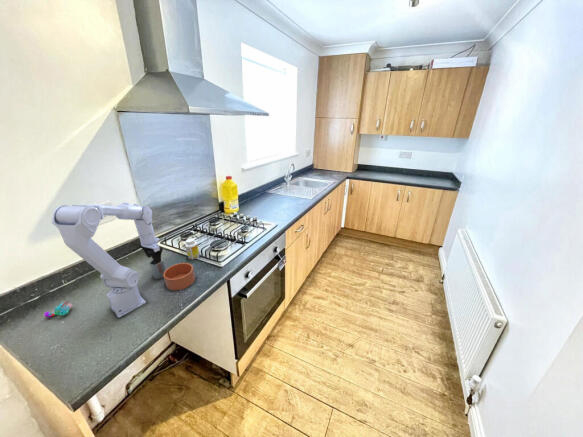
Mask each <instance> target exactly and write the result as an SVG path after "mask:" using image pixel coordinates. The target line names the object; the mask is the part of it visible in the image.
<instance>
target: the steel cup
mask: <svg viewBox="0 0 583 437" xmlns="http://www.w3.org/2000/svg"><path fill="white" fill-rule="evenodd" d="M149 267H150V270H151V273H152V276H153V278H154V279H157V280H159V279H162V278H164V276H163V274H164V271H165V270H166V267H165V264H164V260H163V258H161V262H160V263H158V264H155V262H154V260H153V259H152V260H150V261H149Z"/></svg>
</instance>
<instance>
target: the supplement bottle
mask: <svg viewBox="0 0 583 437" xmlns="http://www.w3.org/2000/svg"><path fill="white" fill-rule="evenodd" d="M184 247H185V251H186V255H187V258H188V260H196V259H198V258H199V257H200V251H199V247H198V242H197V241H195V238H193V237H189V238H187V239H186V240H185V244H184Z"/></svg>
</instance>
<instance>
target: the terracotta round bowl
mask: <svg viewBox="0 0 583 437" xmlns="http://www.w3.org/2000/svg"><path fill="white" fill-rule="evenodd" d="M163 276H164V277H163V280H164V283H165V286H166V288H167V289H168V290H170V291H181V290H184V289H186V288H188V287H190V286H191V285H192V284H193V283H194V282H195V281H196V274H195V269H194V266H193V265H192V264H191V263H190V262H189V263H188V262H178V263H176V264H172V265H171V266H169V267H167V268H165V271H164V274H163Z"/></svg>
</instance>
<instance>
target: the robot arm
mask: <svg viewBox="0 0 583 437" xmlns="http://www.w3.org/2000/svg"><path fill="white" fill-rule="evenodd" d="M104 216H110V217H111V216H115V217H116V218H117V219H118V220H127V221H129V220H130V221H134V225H135V229H136V232H137V234H138V237H139V241H140V243H139V244H138V247H140V248H141V250H142V251H143V252H144V254H145V256H146V257H147V259H150V258H151V259H152V260H154V262H155V264H158V263H160V262H161V259H162V253H163V251H164V248H163V247H162V246H160V245H159V244H158V242H159V241H160V238H159V237H156V234H155V233H156V232H155V229H154V226H153V223H152V222H153V210H152V209H151V208H150V207H149V206H147V205H139V204H138V203H134V204H130V203H129V202H122V203H119V204H117V205H115V206H113V205H105V204H90V203H89V204H72V205H67V204H63V205H59V206H57V207H56V208H55V209H54V211H53V213H52V218H51V224H52V225H54V227H56V228H57V230H58V231H59V233H60V236H61V238H62V239H63V243H64V245H65V246H66V247H67V248H69V249H70V250H71V251H72V252H73V253H75V254H76V255H77V256H79V257H80V258H81V259H82V260H84V261H85V262H86V263H87V264H89V265H90V266H91V267H93V269H95V270H96V271H97V272H99V274H100V276H99V279H100V280H102V282H103V285H104V286H105V287H106V288H109V289H110V291H109V292H108V293H106V298H107V300H108V303H109V304H110V308H111V311H112V312H113V313H115V315H116V316H117V318H122V317H123V316H125V315H127V314H129V313H131V312H132V311H134V310H135V309H137V308H139V307H140V306H142V305H145V304H146V303H147V301H146V300H145V299H144V298H143V297H142V296H141V294H140V290H139V288H138V285H137V284H138V283H139V281H140V275H139V272H138V271H136V270H132V269H131V268H129V267H126V266H124V265H121V264H120V263H119V262H118V261H117V260H115V259H114V257H112V256H111V255H110V254H109V253H108V252H107V251H105V249H104V248H102V247H101V246H100V244H98V243H97V242H96V241H95V240H94V239H93V237H94V236H95V235H96V232H97V229H98V227H99V224H100V222H101V220H103V219H104Z"/></svg>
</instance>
